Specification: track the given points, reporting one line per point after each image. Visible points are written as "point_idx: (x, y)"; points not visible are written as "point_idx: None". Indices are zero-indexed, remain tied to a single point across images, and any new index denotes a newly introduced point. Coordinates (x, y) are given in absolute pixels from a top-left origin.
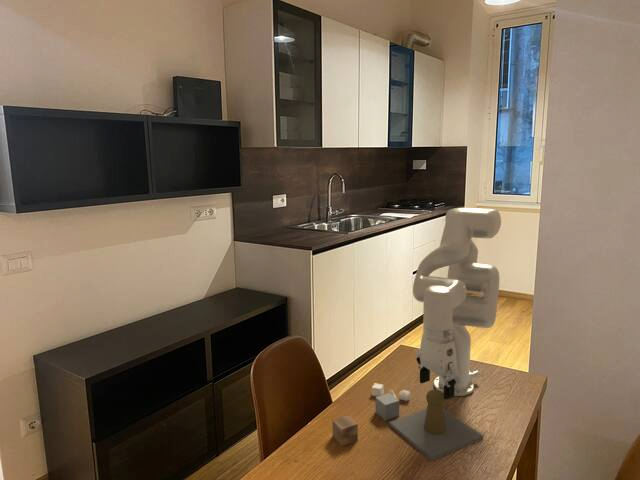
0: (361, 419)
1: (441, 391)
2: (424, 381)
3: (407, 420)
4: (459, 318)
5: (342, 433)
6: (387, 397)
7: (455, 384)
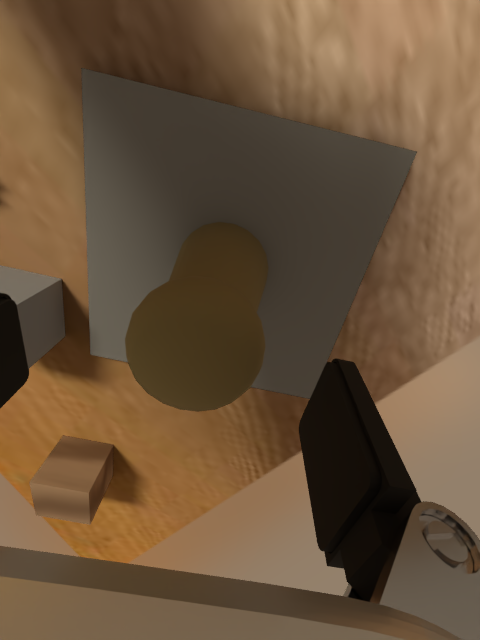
0: None
1: (200, 320)
2: (18, 358)
3: (117, 303)
4: None
5: (96, 509)
6: None
7: (453, 525)
